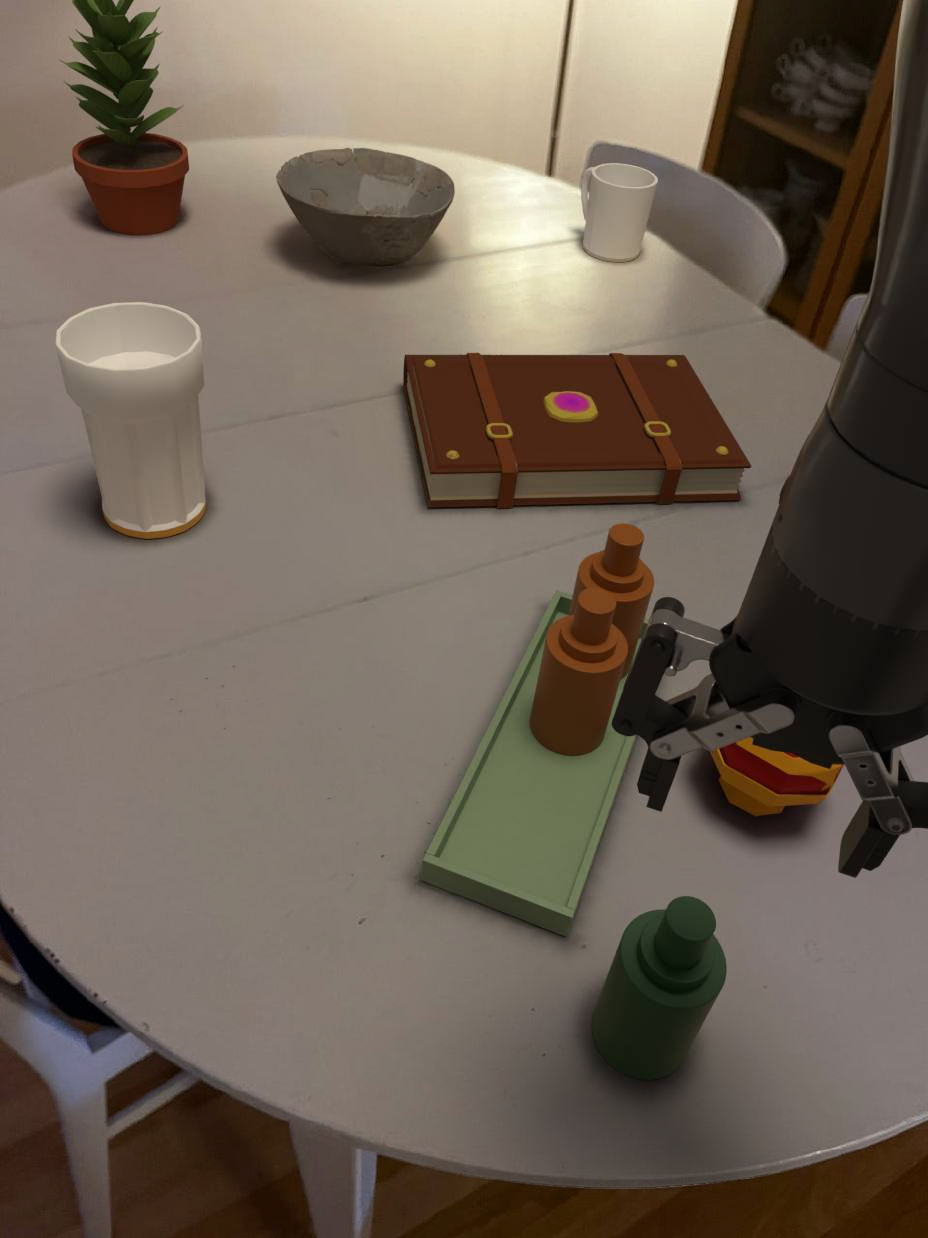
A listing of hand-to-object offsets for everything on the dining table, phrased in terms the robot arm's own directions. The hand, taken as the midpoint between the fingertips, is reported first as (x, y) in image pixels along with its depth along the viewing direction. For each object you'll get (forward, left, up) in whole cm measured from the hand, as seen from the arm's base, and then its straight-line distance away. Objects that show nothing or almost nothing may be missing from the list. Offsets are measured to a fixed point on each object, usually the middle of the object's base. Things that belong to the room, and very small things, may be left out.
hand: (751, 827), depth 45 cm
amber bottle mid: (+23, -7, -22) cm, 33 cm away
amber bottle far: (+29, -13, -22) cm, 38 cm away
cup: (+60, +17, -22) cm, 66 cm away
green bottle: (+1, 0, -22) cm, 22 cm away
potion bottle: (+14, -18, -22) cm, 32 cm away
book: (+59, -25, -22) cm, 68 cm away
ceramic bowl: (+106, -20, -22) cm, 110 cm away
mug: (+101, -54, -22) cm, 117 cm away
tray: (+22, -5, -22) cm, 32 cm away
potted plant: (+124, +6, -22) cm, 126 cm away
